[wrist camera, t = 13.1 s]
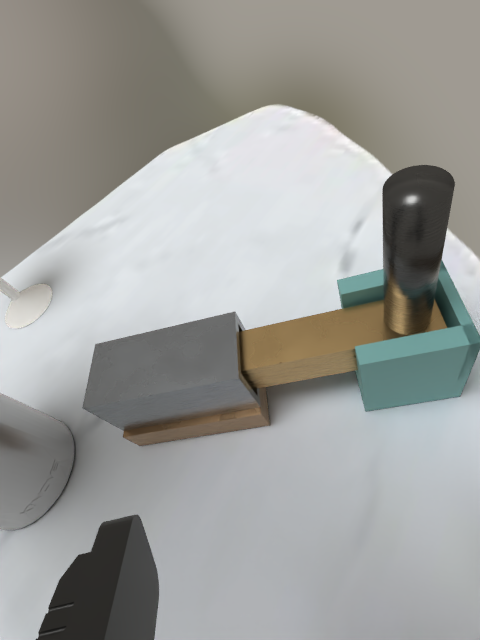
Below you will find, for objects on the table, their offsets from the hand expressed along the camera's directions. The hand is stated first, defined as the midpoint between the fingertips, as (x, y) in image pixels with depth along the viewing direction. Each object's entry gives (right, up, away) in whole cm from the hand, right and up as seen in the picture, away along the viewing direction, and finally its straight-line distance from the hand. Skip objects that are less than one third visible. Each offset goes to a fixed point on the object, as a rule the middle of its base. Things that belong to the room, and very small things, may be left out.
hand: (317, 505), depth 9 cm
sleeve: (-5, -2, +23) cm, 23 cm away
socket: (+10, +1, +19) cm, 22 cm away
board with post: (+4, +2, +17) cm, 18 cm away
